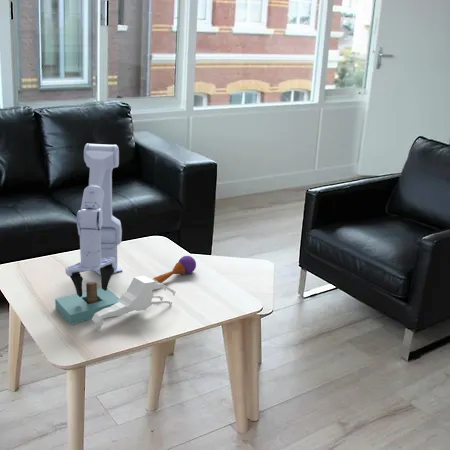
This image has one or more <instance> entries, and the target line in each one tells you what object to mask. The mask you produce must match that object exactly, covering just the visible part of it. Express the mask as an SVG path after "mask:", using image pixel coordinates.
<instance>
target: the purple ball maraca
mask: <svg viewBox="0 0 450 450" xmlns="http://www.w3.org/2000/svg"><path fill="white" fill-rule="evenodd" d="M196 267H197V263H196V260H195V258H194V257H193V256H190V255H184V256H182V257H181V258H180V259H179V260H178V261H177V262H176V264H175V265H174V267H173V269H172V270H171V271H168V272H166V273H165V272H164V273H163V274H161V275H158V276H155V277H153V278H151V279H155V280H157V281H158V282H159V283H162V284H163V282H165V281H166V280H168V279H169V278H170V277H172V276H173V275H187V274H189V275H190V274H191V273H193V272H194V271H195V270H196Z"/></svg>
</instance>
